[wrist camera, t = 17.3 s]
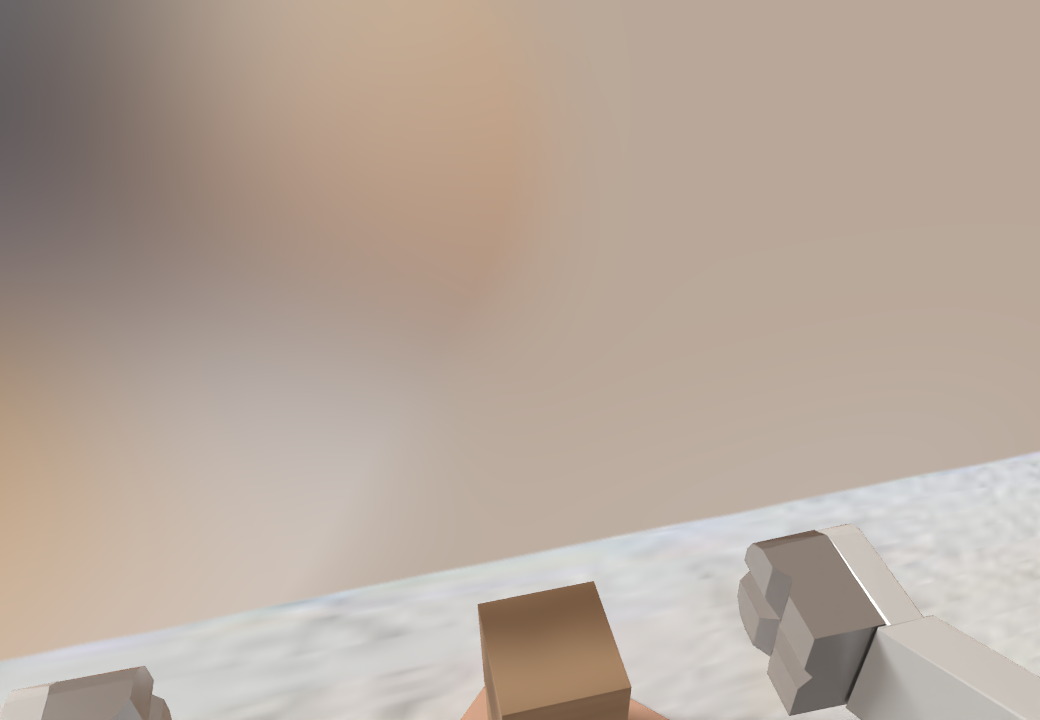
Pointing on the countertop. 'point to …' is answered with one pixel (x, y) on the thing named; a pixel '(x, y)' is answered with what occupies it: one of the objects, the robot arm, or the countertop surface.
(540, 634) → the walnut block
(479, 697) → the pad
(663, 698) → the countertop surface
